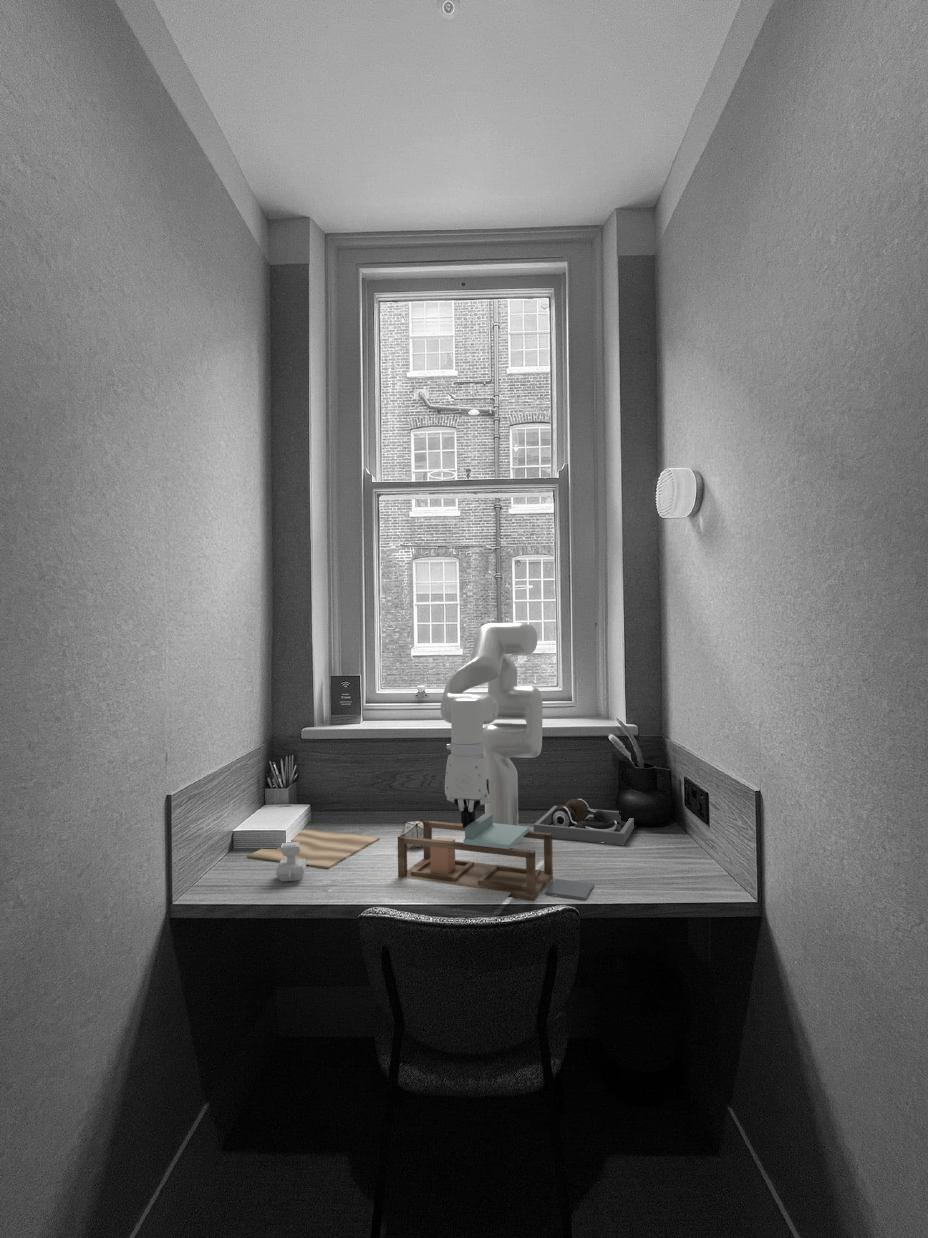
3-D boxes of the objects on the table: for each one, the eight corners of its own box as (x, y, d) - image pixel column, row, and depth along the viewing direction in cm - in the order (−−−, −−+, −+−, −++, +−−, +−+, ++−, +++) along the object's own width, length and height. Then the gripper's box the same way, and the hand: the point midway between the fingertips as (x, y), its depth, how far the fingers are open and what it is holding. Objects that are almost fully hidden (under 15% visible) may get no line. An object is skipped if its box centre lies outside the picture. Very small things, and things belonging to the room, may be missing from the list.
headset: (572, 792, 222) (634, 810, 212) (568, 817, 223) (631, 836, 212) (548, 805, 208) (614, 825, 197) (544, 831, 208) (610, 852, 198)
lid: (486, 826, 178) (486, 812, 178) (529, 831, 174) (529, 816, 174) (463, 844, 164) (463, 828, 164) (509, 849, 160) (509, 833, 160)
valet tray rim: (554, 816, 225) (554, 805, 225) (637, 823, 216) (636, 813, 216) (533, 836, 205) (533, 824, 205) (623, 845, 195) (623, 833, 195)
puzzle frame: (426, 861, 184) (426, 820, 184) (552, 877, 172) (552, 833, 172) (398, 881, 170) (397, 837, 170) (533, 901, 157) (533, 853, 157)
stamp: (304, 885, 169) (303, 849, 169) (274, 886, 168) (274, 850, 168) (307, 872, 178) (307, 837, 178) (279, 873, 177) (279, 839, 177)
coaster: (555, 881, 169) (555, 878, 169) (594, 886, 166) (594, 883, 166) (545, 894, 161) (545, 892, 161) (585, 900, 157) (585, 897, 157)
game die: (407, 864, 193) (385, 833, 195) (428, 846, 199) (407, 816, 200) (422, 855, 187) (399, 823, 188) (443, 836, 193) (421, 806, 194)
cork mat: (305, 830, 213) (305, 829, 213) (379, 839, 203) (379, 837, 203) (247, 857, 189) (247, 855, 189) (328, 869, 179) (328, 867, 179)
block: (438, 866, 177) (438, 837, 177) (455, 868, 175) (454, 839, 175) (430, 872, 173) (430, 842, 173) (447, 874, 171) (447, 844, 171)
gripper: (432, 750, 171) (433, 828, 171) (491, 754, 165) (492, 834, 165) (445, 745, 178) (446, 820, 178) (502, 749, 172) (503, 826, 172)
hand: (468, 826), depth 172 cm, fingers closed
